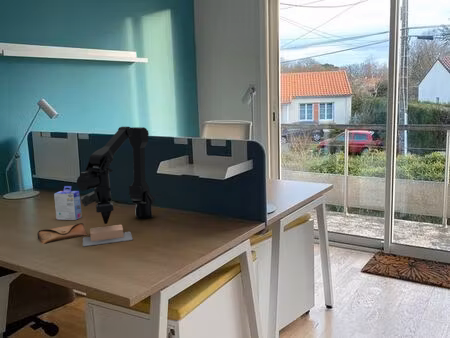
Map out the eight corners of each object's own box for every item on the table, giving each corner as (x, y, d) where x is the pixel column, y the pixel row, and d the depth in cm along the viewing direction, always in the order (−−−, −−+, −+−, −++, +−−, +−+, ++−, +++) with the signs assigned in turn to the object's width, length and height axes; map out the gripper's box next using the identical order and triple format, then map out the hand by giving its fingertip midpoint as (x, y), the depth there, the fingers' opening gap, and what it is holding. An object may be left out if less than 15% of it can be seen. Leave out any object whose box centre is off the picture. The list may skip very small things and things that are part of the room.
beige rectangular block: (121, 224, 176) (123, 229, 170) (122, 231, 177) (123, 237, 170) (90, 228, 173) (90, 233, 166) (90, 235, 173) (91, 241, 167)
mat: (130, 232, 177) (130, 231, 177) (132, 240, 167) (132, 239, 167) (83, 238, 172) (82, 237, 172) (82, 246, 162) (82, 246, 162)
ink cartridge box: (82, 216, 201) (79, 185, 199) (76, 220, 196) (73, 188, 193) (62, 216, 203) (59, 185, 201) (56, 220, 198) (52, 188, 195)
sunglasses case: (41, 244, 166) (38, 227, 168) (39, 249, 172) (36, 232, 174) (89, 234, 175) (86, 219, 177) (86, 239, 181) (83, 224, 183)
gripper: (80, 182, 179) (84, 219, 182) (80, 192, 162) (84, 233, 165) (109, 179, 183) (112, 216, 185) (111, 189, 165) (115, 229, 168)
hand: (105, 223), depth 176 cm, fingers closed
